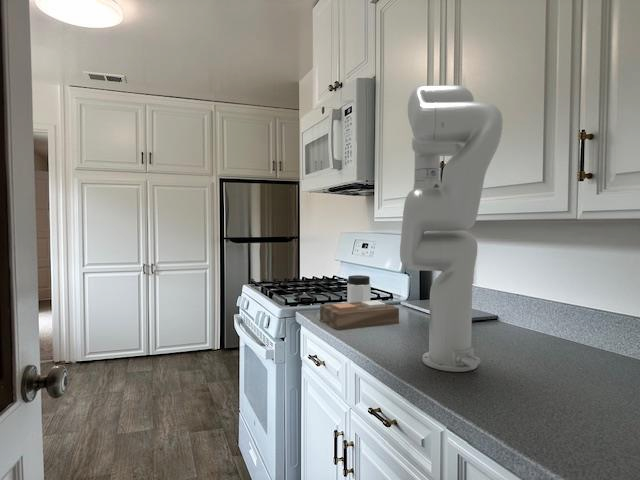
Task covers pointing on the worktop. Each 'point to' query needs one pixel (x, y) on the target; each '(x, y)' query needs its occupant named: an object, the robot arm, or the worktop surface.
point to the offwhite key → (373, 304)
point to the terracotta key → (343, 306)
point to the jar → (358, 288)
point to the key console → (359, 316)
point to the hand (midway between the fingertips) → (425, 234)
